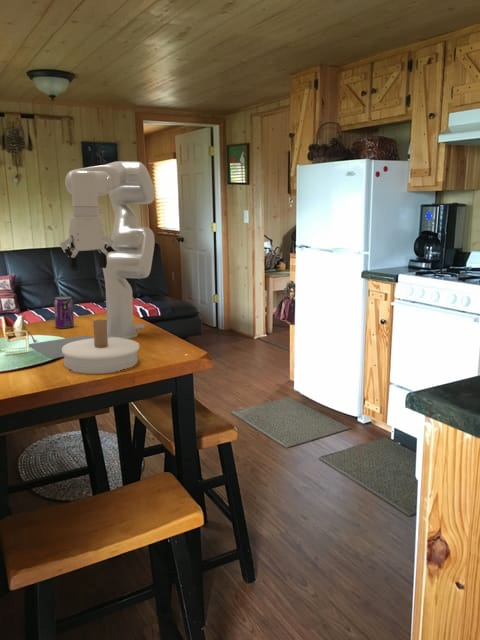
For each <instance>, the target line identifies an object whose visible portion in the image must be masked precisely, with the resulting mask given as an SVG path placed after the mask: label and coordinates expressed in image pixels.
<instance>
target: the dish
mask: <svg viewBox="0 0 480 640" xmlns="http://www.w3.org/2000/svg"><path fill="white" fill-rule="evenodd" d="M137 353H138V351H137V352H135V353H133V354H130V355H127V356H123V357H118V358H110V359H77V358H72V357H68V356H65V355H64V357H63V358H64V359H63V364H64V367H65V368H67V369H69V370H68V371H70V372H72V373H79V374H86V375H87V374H88V375H89V374H90V375H91V374H111V373H116V371H118V372H121V371H120V370H123V369H126V368H129V367H132V366H133V365H135V364H136V363H137V364H138V362H137V361H139V359H138V358H139V357H138V355H137ZM137 364H136V365H137ZM136 365H135V366H136ZM132 368H133V367H132ZM129 369H130V368H129ZM126 370H127V369H126ZM123 371H124V370H123Z"/></svg>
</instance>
